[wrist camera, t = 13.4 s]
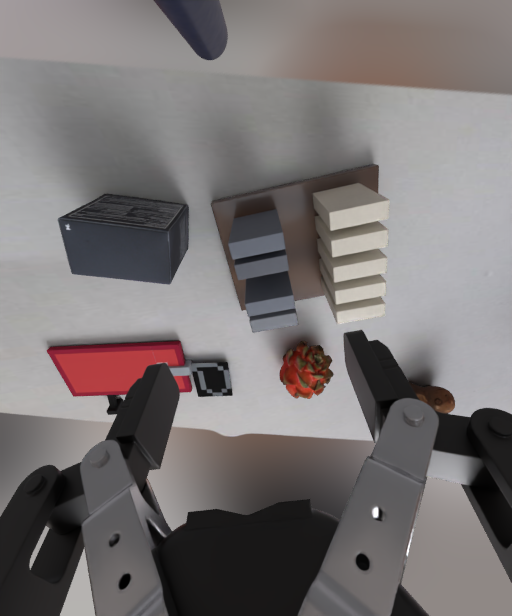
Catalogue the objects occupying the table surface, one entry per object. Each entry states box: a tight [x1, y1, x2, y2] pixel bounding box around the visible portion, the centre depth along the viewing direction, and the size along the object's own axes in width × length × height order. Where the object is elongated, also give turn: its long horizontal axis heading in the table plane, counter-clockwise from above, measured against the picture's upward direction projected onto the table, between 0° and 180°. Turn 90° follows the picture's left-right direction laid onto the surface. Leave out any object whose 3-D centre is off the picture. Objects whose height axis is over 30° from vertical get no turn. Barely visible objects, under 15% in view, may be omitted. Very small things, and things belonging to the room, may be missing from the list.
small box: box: [58, 194, 189, 284], centre depth 33 cm, size 11×6×10 cm, turn 83°
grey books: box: [228, 209, 298, 333], centre depth 34 cm, size 11×6×9 cm, turn 12°
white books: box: [313, 183, 389, 324], centre depth 33 cm, size 13×6×9 cm, turn 12°
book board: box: [211, 164, 379, 310], centre depth 38 cm, size 16×20×2 cm
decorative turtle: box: [409, 382, 455, 414], centre depth 53 cm, size 10×15×8 cm, turn 170°
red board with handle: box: [47, 341, 232, 415], centre depth 51 cm, size 30×3×15 cm
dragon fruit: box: [280, 341, 333, 399], centre depth 47 cm, size 8×8×12 cm
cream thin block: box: [317, 238, 387, 282], centre depth 33 cm, size 2×6×9 cm, turn 102°
